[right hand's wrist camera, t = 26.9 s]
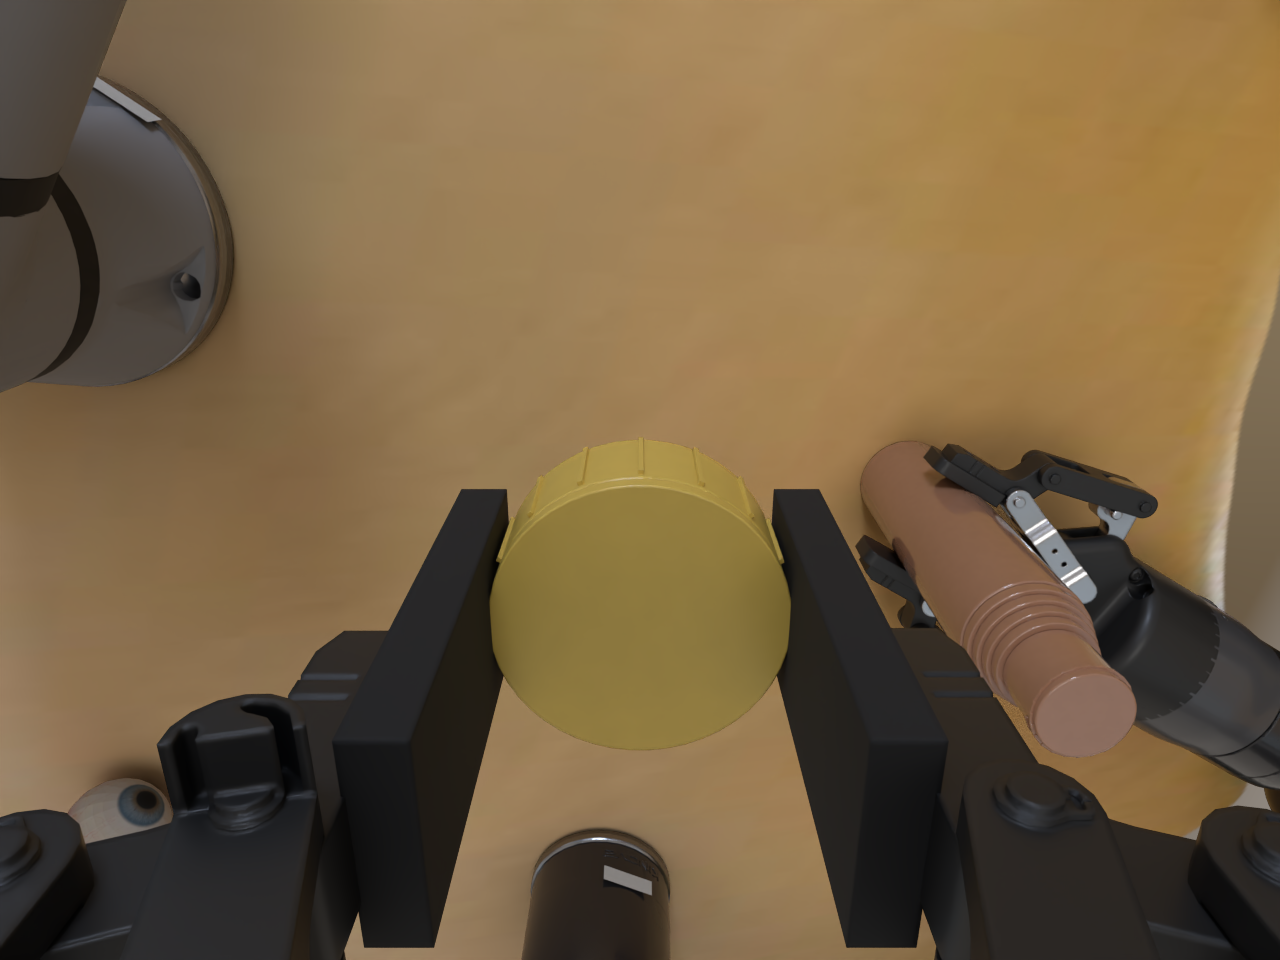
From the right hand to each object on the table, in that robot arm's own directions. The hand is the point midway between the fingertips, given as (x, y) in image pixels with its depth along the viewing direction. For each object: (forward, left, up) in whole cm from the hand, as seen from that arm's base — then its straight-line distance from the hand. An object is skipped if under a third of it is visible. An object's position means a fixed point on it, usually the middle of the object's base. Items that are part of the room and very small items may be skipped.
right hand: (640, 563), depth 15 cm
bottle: (+9, -16, -32) cm, 37 cm away
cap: (0, 0, +2) cm, 2 cm away
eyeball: (-43, -17, -32) cm, 57 cm away
